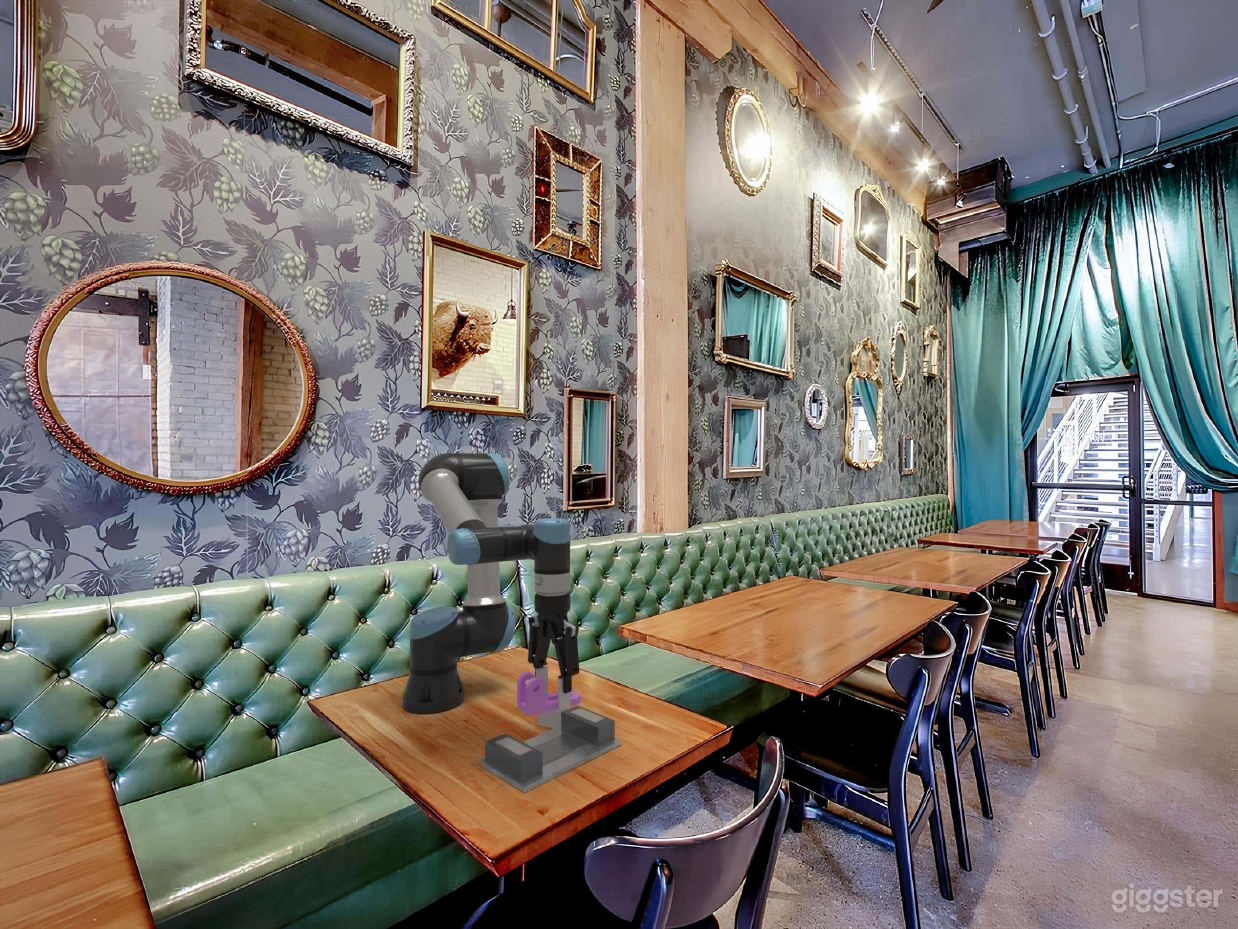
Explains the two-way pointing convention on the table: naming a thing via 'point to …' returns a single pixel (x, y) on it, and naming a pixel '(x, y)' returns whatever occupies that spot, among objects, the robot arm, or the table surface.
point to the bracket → (538, 696)
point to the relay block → (550, 719)
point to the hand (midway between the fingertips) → (553, 703)
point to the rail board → (550, 749)
